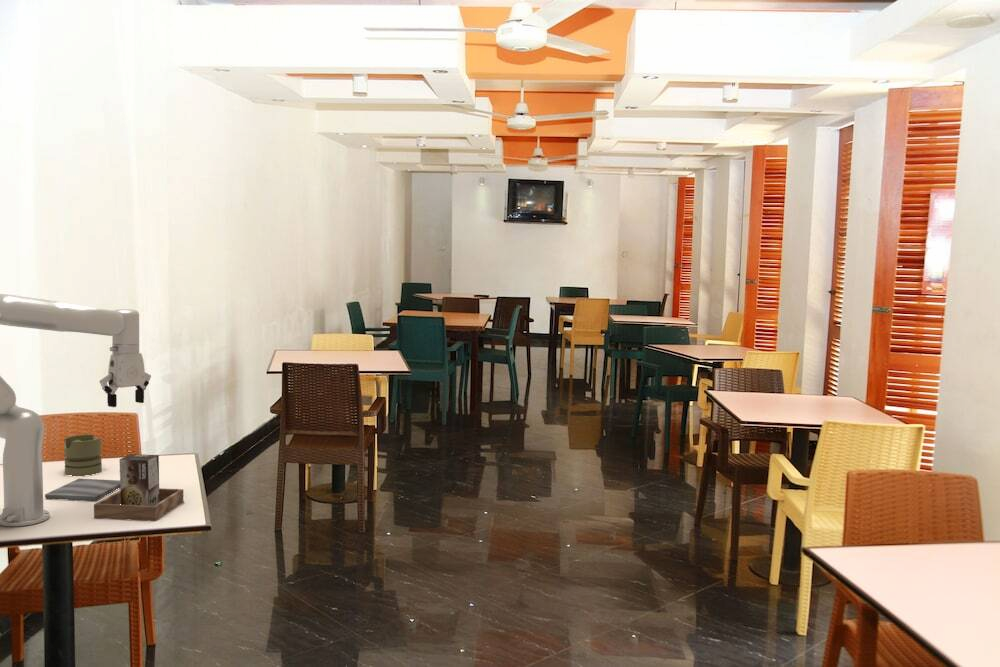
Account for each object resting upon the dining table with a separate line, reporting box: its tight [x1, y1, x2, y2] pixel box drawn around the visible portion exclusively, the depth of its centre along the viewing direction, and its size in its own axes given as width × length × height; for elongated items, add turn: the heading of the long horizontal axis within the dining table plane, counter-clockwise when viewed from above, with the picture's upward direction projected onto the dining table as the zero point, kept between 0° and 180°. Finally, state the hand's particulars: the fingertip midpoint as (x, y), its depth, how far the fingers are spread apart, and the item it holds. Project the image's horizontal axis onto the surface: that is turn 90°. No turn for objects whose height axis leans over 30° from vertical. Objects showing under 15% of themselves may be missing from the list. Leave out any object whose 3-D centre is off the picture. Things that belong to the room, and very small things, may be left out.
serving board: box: [44, 478, 120, 502], centre depth 255 cm, size 18×16×2 cm
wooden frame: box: [93, 487, 184, 522], centre depth 239 cm, size 18×18×4 cm
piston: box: [63, 434, 103, 477], centre depth 277 cm, size 11×12×11 cm
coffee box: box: [118, 453, 160, 506], centre depth 238 cm, size 9×6×16 cm
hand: (126, 404), depth 249 cm, fingers open, 9 cm apart
